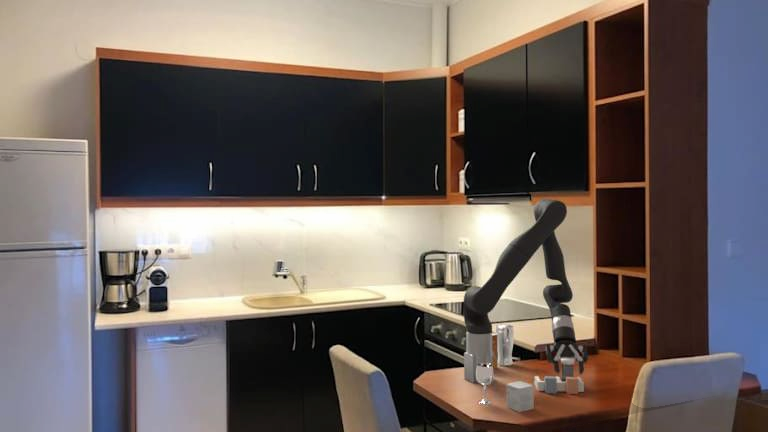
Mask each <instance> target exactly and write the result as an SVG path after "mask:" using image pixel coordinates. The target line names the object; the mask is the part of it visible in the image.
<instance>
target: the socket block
mask: <svg viewBox="0 0 768 432" xmlns="http://www.w3.org/2000/svg"><path fill="white" fill-rule="evenodd" d="M533 384H534V387H535V388H536V390H537V392H545V394H557V393H558V392H565V393H566V394H568V395H572V394H573V395H579V393H580V392H581V393H583V392H585V386H584V385H585V382H584V380H582V378H581V377H580V376H574V377H566V382H563V381H561V378H560V376H551V375H550V376H547V375H544V380H541V379H540V377H539V375H534V381H533Z"/></svg>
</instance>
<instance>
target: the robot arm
mask: <svg viewBox="0 0 768 432" xmlns="http://www.w3.org/2000/svg"><path fill="white" fill-rule="evenodd" d="M567 213H568V209H567V205H566V204H565V203H564V202H562V201H561V200H558V199H549V198H544V199H543V198H542V199H540V200H538V201H537V202H536V203H535V206H534V208H533V214H534V215H533V216H534V219H535V223H534V224H533V225H532V226H531V227H529V228H528V229H526V230H525V231H523V232H522V233H521V234H520V235H518V236H516V237H514V239H513V240H511V241H510V242H509V244H508V245H507V246H506V247H505V248H504V250H503V251H502V252H501V253H500V255H499V257H498V260H497V261H496V262H497V263H496V265H495V268H494V270H493V272H492V274H491V276H490V277H489V278H488V280H487V281H486V282H485V283H484V284H483V285H482V286H477V285H474V286H471V287H469V288H467V290H466V291H465V293H464V296H463V319H464V321H463V322H464V324H465V328H466V329H465V330H466V331H465V332H466V335H465V336H466V343H465V344H466V347H465V348H466V351H465V352H464V353H463V359H464V360H463V364H464V365H463V366H464V367H463V368H464V369H463V372H464V373H463V375H464V376H463V377H464V379H465V380H467V381H469V382H471V383H478V381H477V380H476V369H477V365H478V364H479V363H489V364H492V333H493V325H492V322H491V320H490V318H489V313H491V311H492V310H494V309H495V306H496V305H497V304H498V302H499V301H500V299H501V298H502V296H503V294H504V293H505V291H507V288H508V287H509V286H510V285H511V284H512V282H513V281H514V280H515V278H517V276H518V275H519V274H520V273H521V271H522V270H523V269H524V267H525V266H526V265H527V264H528V263H529V261H530V260H531V258H532V257H533V256H534V255H535V253H537V251H538V250H539V248H540V247H541V248H542V251H543V258H544V267H545V275H546V278H547V279H548V280H551V281H558V282H560V283H558V284H550V285H549V284H548V285H546V286H545V287H544V288H543V290H542V297H543V299H544V301H545V303H546V304H547V305H546V306H547V307H548V308H549V309H548V310H549V312H550V317H551V332H552V338H553V343H554V344H553V345H551V344H549V343H546V346H545V354H546V359H547V362H548V363H549V364H550V363H552V364H553V368H554V373H556V374H557V375H559V374H560V373H561V371H560V364H559V363H560V362H559V361H560V360H561V357H571V358H574V359H575V362H576V363H577V367H578V372H579V373H578V374H579V375H582V374H583V373H584V371H585V369H584V364H587V363H588V360H589V356H588V349H587V345H586V344H583V345H578V343H577V339H576V333H575V325H574V323H573V319H572V313H571V309H570V307H569V305H568V304H567V303H571V301H572V300H573V296H574V295H573V290H572V288H571V286H570V283H569V281H568V279H567V274H566V268H565V266H566V264H565V259H564V253H563V251H562V248H561V246H560V244H559V241H558V238H557V236H556V234H555V230H556V229H557V228H558V227H560V225H562V223H563V222H564V221H565V220H566V217H567ZM553 350H554V352H555V353H556V355H555V356H554V357H553V356H552V352H553ZM578 351H579V352H580V353H581V354H582V355H580V353H579V352H578ZM581 356H582V357H581Z"/></svg>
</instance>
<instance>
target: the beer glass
mask: <svg viewBox="0 0 768 432" xmlns="http://www.w3.org/2000/svg"><path fill="white" fill-rule="evenodd" d="M495 334H497V335H498V357H497V366H502V367H512V366H513V356H512V355H513V354H512V353H513V347H514V341H515V339H514V338H515V335H514V325H511V324H503V323H502V324H497V325H496V326H495Z"/></svg>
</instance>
